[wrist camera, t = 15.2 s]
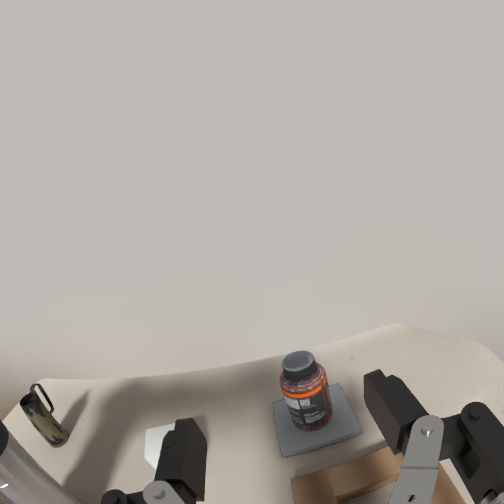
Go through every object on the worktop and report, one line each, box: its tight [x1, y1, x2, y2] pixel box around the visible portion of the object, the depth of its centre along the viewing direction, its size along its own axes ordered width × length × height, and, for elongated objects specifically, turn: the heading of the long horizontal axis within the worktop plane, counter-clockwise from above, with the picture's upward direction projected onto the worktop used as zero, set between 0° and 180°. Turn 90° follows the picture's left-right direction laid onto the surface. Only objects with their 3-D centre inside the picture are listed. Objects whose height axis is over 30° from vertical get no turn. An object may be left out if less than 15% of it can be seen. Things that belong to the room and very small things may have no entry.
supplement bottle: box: [280, 351, 333, 430], centre depth 33 cm, size 6×6×11 cm
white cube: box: [145, 423, 175, 470], centre depth 30 cm, size 6×6×6 cm
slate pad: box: [272, 383, 362, 458], centre depth 34 cm, size 11×11×1 cm
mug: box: [20, 384, 69, 447], centre depth 35 cm, size 8×6×12 cm
